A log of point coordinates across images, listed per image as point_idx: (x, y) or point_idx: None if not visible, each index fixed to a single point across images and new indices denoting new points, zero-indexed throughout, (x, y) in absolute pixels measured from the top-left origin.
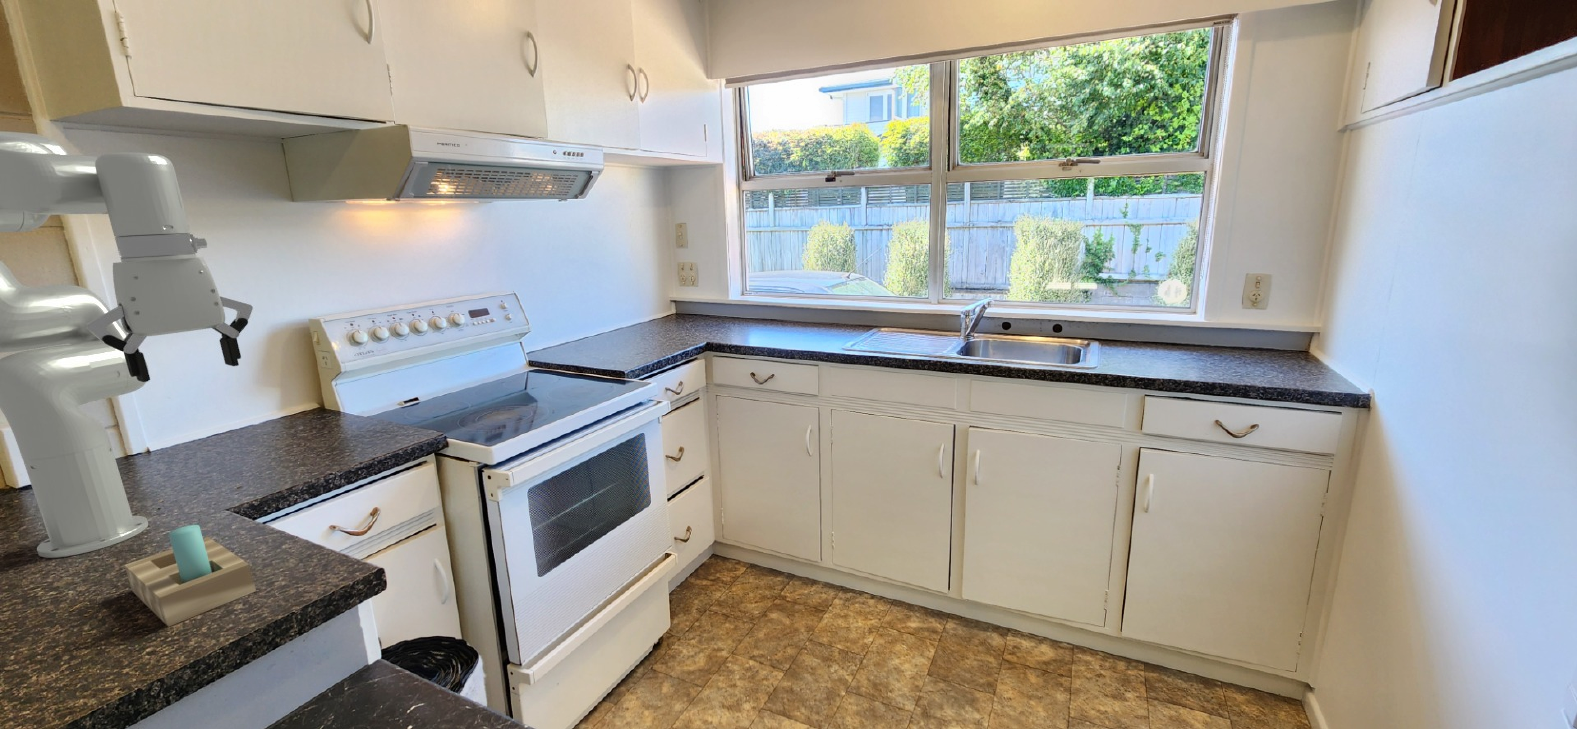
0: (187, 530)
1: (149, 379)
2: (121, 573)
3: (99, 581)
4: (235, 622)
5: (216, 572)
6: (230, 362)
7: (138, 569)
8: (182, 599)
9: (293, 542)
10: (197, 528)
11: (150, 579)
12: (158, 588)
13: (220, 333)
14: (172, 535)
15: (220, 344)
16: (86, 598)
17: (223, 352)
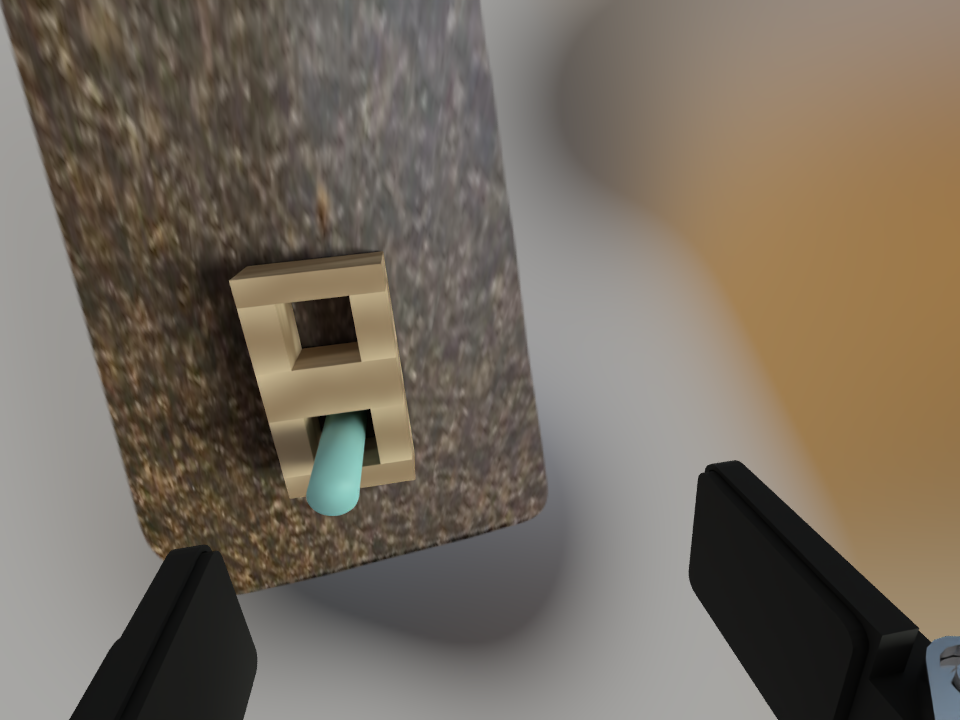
0: (337, 502)
1: (253, 665)
2: (219, 112)
3: (180, 118)
4: (375, 516)
5: (369, 471)
6: (701, 579)
7: (255, 335)
8: None
9: (511, 281)
10: (354, 505)
11: (276, 408)
12: (288, 460)
13: (927, 718)
14: (312, 506)
15: (812, 586)
16: (168, 206)
17: (755, 551)
